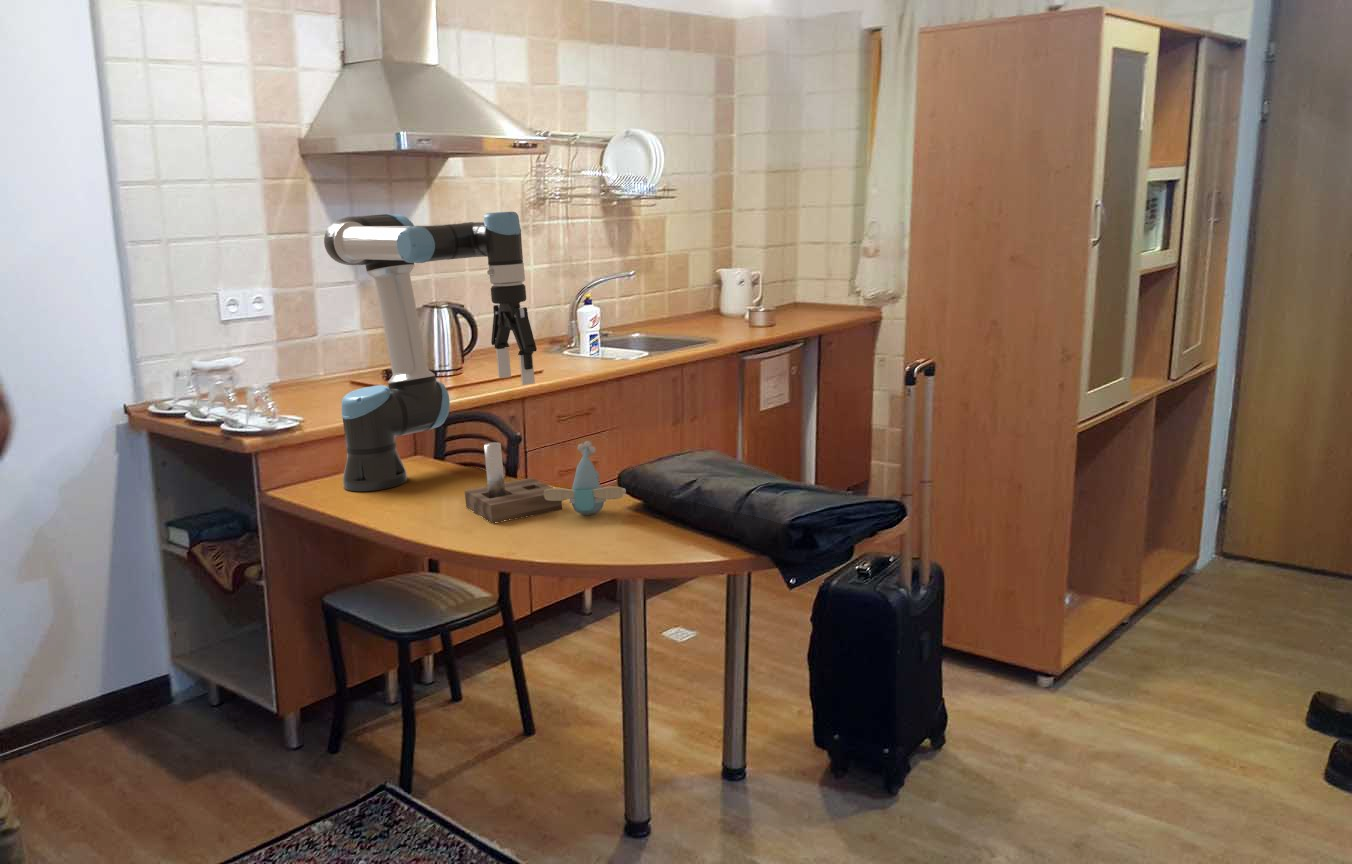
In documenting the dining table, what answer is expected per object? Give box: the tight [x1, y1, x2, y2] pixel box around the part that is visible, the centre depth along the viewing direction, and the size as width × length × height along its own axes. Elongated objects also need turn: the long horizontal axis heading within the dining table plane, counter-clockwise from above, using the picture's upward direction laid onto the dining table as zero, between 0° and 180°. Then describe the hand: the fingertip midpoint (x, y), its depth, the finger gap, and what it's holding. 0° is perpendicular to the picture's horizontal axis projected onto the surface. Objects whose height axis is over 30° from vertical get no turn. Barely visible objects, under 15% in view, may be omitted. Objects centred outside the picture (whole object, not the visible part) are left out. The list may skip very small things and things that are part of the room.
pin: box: [483, 441, 506, 499], centre depth 238 cm, size 4×4×14 cm
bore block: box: [464, 477, 563, 524], centre depth 241 cm, size 16×16×4 cm
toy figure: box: [544, 440, 627, 516], centre depth 233 cm, size 17×10×15 cm, turn 84°
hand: (516, 380), depth 245 cm, fingers open, 13 cm apart
